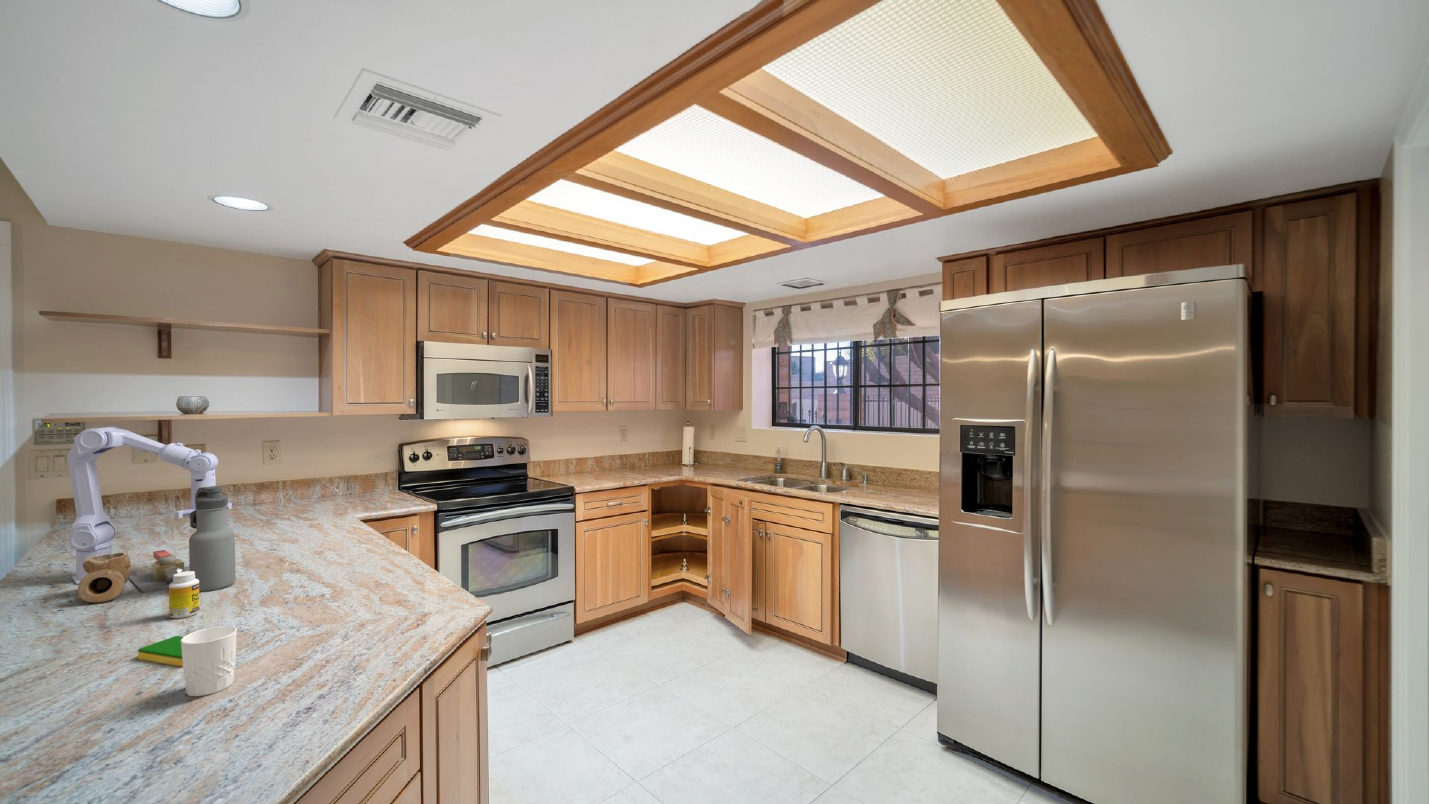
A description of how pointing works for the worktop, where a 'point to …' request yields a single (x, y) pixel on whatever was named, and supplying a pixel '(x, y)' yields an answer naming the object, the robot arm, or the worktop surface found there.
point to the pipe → (104, 577)
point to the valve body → (166, 570)
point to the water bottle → (212, 541)
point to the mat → (150, 582)
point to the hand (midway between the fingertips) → (204, 537)
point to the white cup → (209, 660)
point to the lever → (164, 557)
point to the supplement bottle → (184, 595)
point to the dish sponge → (163, 651)
